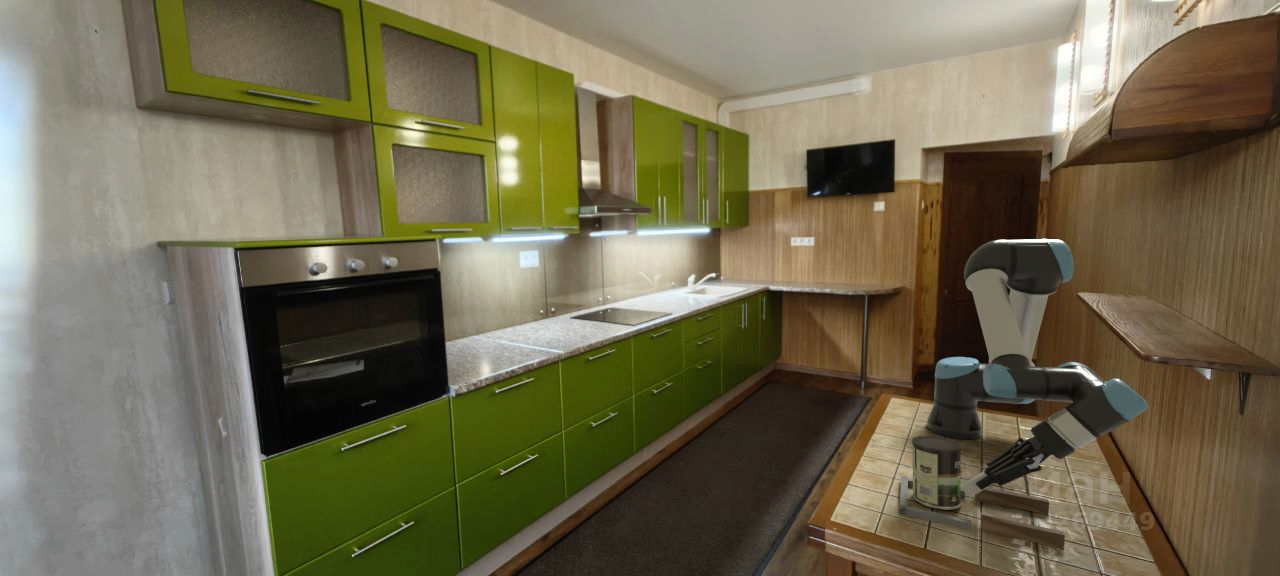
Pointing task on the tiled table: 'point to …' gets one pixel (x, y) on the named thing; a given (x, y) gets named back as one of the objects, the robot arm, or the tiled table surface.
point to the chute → (1017, 528)
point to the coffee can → (937, 472)
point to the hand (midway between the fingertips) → (965, 491)
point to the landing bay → (928, 514)
